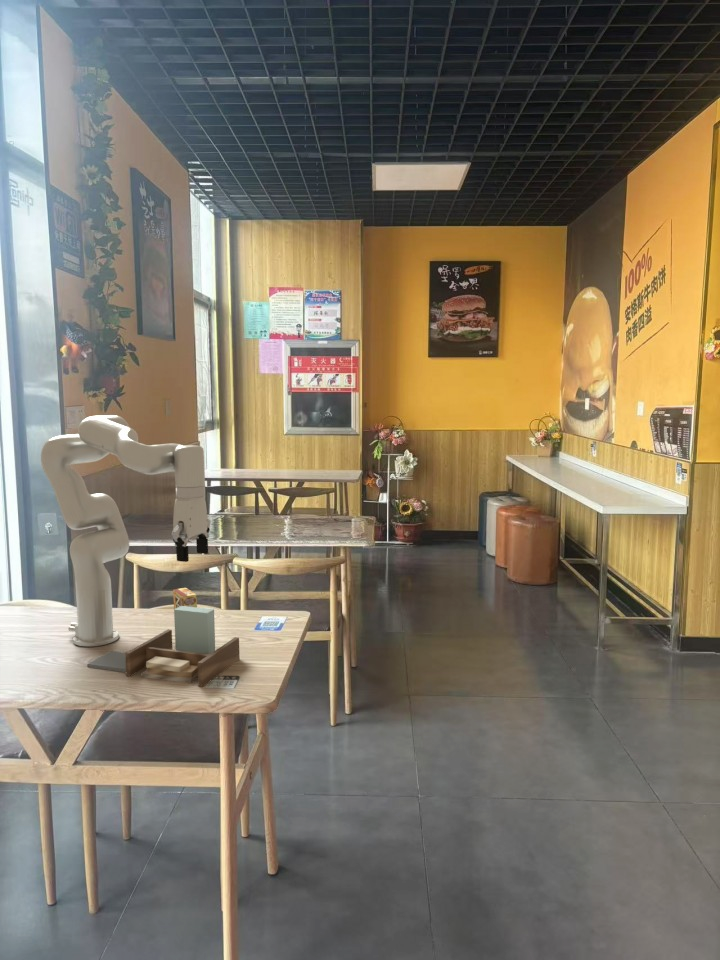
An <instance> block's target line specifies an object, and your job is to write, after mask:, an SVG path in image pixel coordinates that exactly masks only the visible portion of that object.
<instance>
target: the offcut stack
mask: <svg viewBox="0 0 720 960" xmlns="http://www.w3.org/2000/svg"><path fill="white" fill-rule="evenodd" d="M145 668H146V669H145V670H143V671H142V672H141V678H147V679H154V680H164V681H170V682H180V683H185V684H186V683H188V684H192V683H193V682H195V681H196V680H198V666H195V665H190V661H186V660H178V659H171V658H164V657H157V656H156V657H154V658H152V659H150V660H149V661H147V662H146V667H145Z"/></svg>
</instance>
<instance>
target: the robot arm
mask: <svg viewBox="0 0 720 960" xmlns="http://www.w3.org/2000/svg"><path fill="white" fill-rule="evenodd" d="M109 454H111V455H113V456H115V457H117V459H118V461H119V462H120V463H121V465H123V466H124V467H126V468H128V469H130V470H133V471H135V472H138V473H140V474H144V475H148V476H149V475H152V476H153V475H159V474H166V473H174V483H175V485H174V486H175V499H174V505H173V516H172V517H173V521H172V522H173V524H172V526H173V529H172V531H171V537H172V541H173V543H174V547H175V549H176V561H177V562H183V563H188V562H189V559H190V557H189V556H190V555H189V545H188V542H189V540H190V538H194V537H197V538H196V539H195V540H196V542H195V543H196V553H197V554H209V537H210V536H209V535H210V534H209V532H210V527H211V520H210V519H209V518H208V510H207V503H206V475H205V473H206V472H205V451H204V448H203V447H202V446H200V445H197V444H196V445H195V444H187V445H185V444H184V445H183V444H180V443H176V442H175V443H174V442H173V443H162V444H161V443H160V444H152V445H151V444H150V445H148V444H144V443H142V442H139V435H138V432H137V431H136V430H135V429H133V428H132V427H130V425H129V423H128V422H127V421H126V420H125V418H123V417H122V416H119V415H114V414H109V415H92V416H88V417H86V418H84V419H83V420H82V421H80V423H79V425H78V428H77V433H75V434H73V433H72V434H61V435H57V436H54V437H51V438H49V439H48V440H47V441H45V442H44V444H43V446H42V449H41V452H40V462H41V466H42V469H43V472H44V474H45V476H46V478H47V479H48V481H49V483H50V485H51V487H52V490H53V491H54V495H55V497H56V501H57V503H58V506H59V509H60V512H61V514H62V518H63V519H64V522H65V524H66V527H68V528H69V529H71V530H73V531H78V530H80V531H81V530H86V529H90V528H94V527H96V529H97V530H94V531H87V532H84V533H82V534H80V535H77V536H76V537H75V538H73V540H72V541H71V543H70V545H69V546H70V547H69V555H70V559H71V560H70V561H71V563H72V568H73V574H74V582H75V597H76V599H75V600H76V615H77V617H76V618H77V622H76V621H75V622H73V621H72V622H71V623H70V625H69V626H68V630H67V631H69V632H74V636H73V637H72V643H73V644H74V645H76V646H79V647H99V646H105V645H108V644H111V643H114V642H115V641H117V640H118V639H119V638H120V633H119V631H118V630H115V629H114V621H113V619H114V618H113V617H114V616H113V600H112V580H111V575H110V573H109V571H108V570H107V568H106V567H105V564H106V563H107V562H111V561H115V560H117V559H118V560H119V559H121V558H123V557H124V556H126V555H127V553H128V552H129V549H130V539H129V534H128V532H127V530H126V529H127V528H126V526H125V524H124V521H123V518H122V515H121V513H120V510H119V507H118V505H117V503H116V501H115V500H114V499H113V498H112V497H111V496H110V495H108V494H106V493H99V492H98V493H93V494H92V493H91V494H90V493H89V490H88V489H87V486H86V483H85V480H84V479H83V477H82V476H81V474H80V473H79V471H77V470H76V469H74V468H73V467H72V465H75V464H76V465H77V464H79V465H80V464H87V463H93V462H98V461H100V460H102V459H104V458H105V457H106V456H108V455H109ZM104 563H105V564H104Z"/></svg>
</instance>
